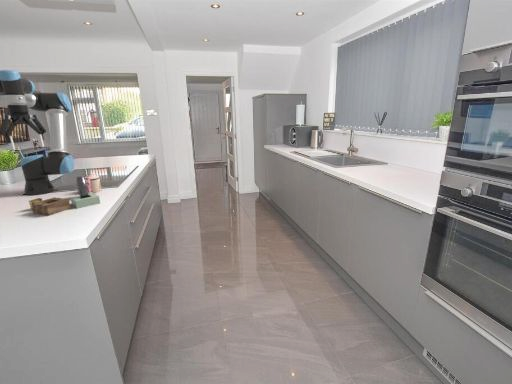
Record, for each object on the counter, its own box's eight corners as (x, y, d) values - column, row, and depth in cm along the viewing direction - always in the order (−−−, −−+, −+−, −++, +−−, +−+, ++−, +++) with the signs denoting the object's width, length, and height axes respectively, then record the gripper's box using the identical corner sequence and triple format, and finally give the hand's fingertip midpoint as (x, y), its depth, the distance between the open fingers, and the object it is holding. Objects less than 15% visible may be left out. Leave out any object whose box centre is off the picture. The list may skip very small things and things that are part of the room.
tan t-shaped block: (30, 208, 139) (28, 200, 138) (41, 205, 144) (39, 198, 142) (42, 210, 136) (40, 202, 135) (52, 207, 141) (51, 199, 140)
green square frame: (71, 203, 148) (70, 196, 147) (94, 199, 155) (92, 192, 154) (77, 208, 140) (75, 201, 139) (100, 203, 148) (98, 196, 147)
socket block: (33, 213, 134) (31, 203, 133) (55, 206, 144) (53, 197, 143) (49, 215, 131) (46, 205, 129) (70, 208, 141) (68, 199, 139)
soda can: (87, 199, 156) (82, 178, 153) (76, 198, 158) (72, 178, 154) (96, 195, 163) (92, 176, 160) (86, 195, 164) (82, 175, 161)
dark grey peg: (81, 203, 148) (75, 177, 144) (88, 202, 150) (83, 175, 146) (83, 205, 145) (77, 178, 141) (91, 203, 148) (85, 176, 144)
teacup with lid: (104, 191, 172) (100, 173, 169) (87, 194, 166) (84, 175, 163) (98, 187, 180) (95, 170, 177) (83, 190, 174) (79, 172, 171)
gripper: (-10, 103, 120) (4, 151, 126) (48, 105, 143) (57, 145, 149) (-20, 104, 123) (-7, 150, 129) (38, 105, 146) (47, 145, 151)
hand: (27, 148), depth 139 cm, fingers open, 13 cm apart
